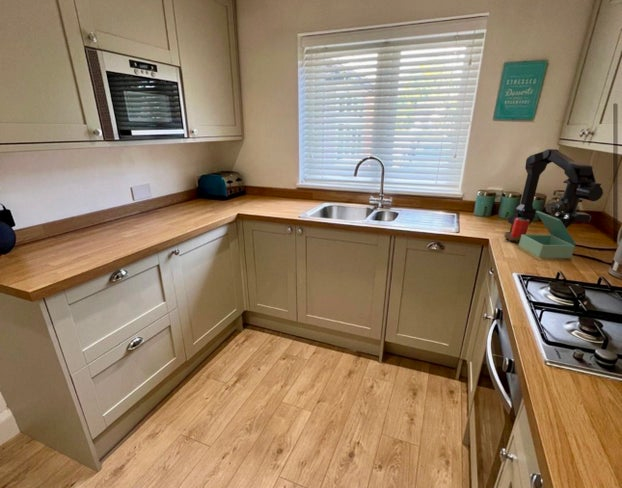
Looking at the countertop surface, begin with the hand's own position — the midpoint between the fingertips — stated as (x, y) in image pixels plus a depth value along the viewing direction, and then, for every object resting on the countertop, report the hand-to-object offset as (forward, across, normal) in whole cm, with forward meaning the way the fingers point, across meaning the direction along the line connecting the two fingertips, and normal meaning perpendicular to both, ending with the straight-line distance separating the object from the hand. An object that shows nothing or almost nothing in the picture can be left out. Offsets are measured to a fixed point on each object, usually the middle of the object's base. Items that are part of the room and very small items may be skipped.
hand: (560, 232), depth 142 cm
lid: (-2, 0, -3) cm, 4 cm away
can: (+6, -14, -8) cm, 18 cm away
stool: (+10, -14, -10) cm, 20 cm away
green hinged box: (+10, 0, -5) cm, 11 cm away
